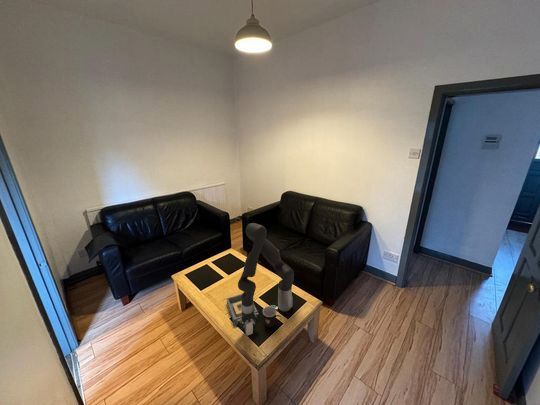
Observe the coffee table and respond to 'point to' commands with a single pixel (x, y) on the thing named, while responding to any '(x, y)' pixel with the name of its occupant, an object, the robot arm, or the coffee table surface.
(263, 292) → the coffee table surface
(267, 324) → the coffee mug
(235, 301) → the walled box
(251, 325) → the peg
